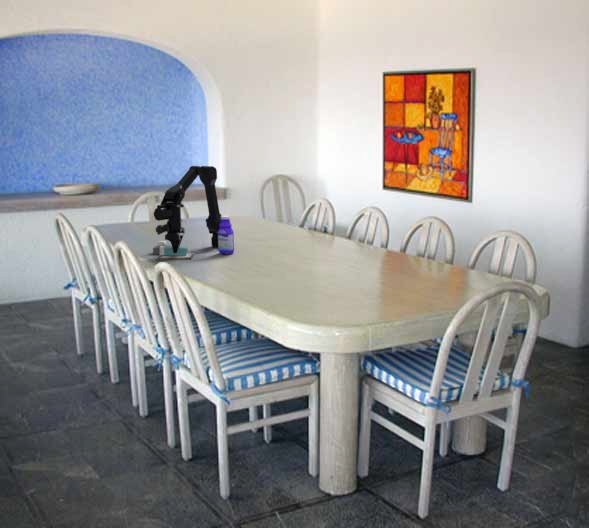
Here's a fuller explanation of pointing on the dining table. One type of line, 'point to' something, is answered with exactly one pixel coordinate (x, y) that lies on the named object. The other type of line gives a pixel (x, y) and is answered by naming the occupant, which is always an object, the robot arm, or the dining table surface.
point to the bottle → (225, 236)
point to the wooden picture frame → (189, 256)
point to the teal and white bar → (169, 251)
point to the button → (161, 243)
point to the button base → (157, 249)
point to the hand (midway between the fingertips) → (175, 252)
